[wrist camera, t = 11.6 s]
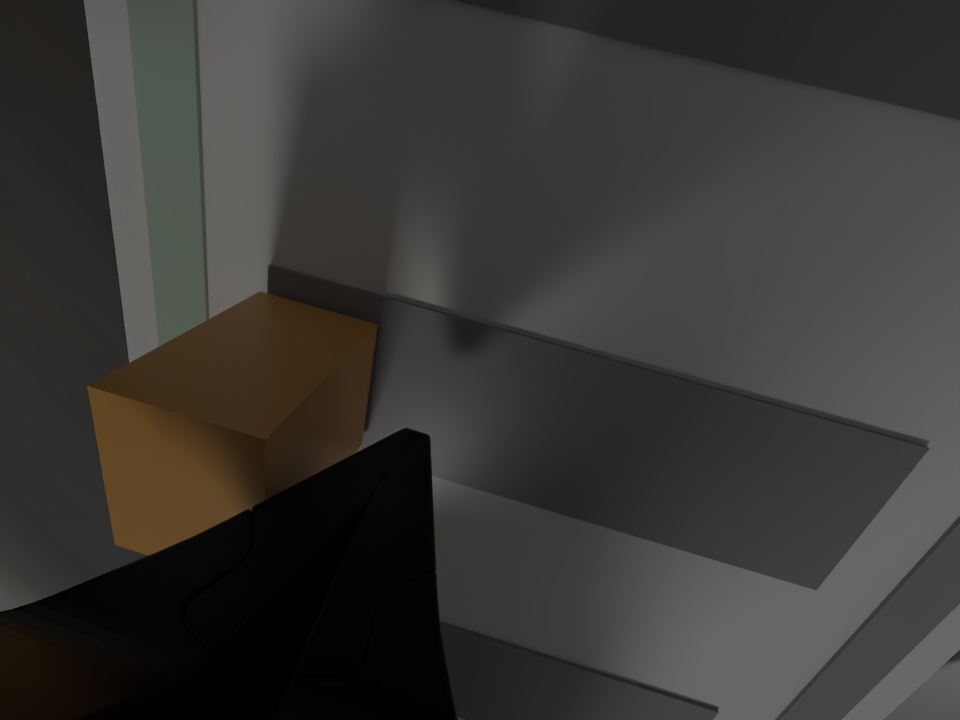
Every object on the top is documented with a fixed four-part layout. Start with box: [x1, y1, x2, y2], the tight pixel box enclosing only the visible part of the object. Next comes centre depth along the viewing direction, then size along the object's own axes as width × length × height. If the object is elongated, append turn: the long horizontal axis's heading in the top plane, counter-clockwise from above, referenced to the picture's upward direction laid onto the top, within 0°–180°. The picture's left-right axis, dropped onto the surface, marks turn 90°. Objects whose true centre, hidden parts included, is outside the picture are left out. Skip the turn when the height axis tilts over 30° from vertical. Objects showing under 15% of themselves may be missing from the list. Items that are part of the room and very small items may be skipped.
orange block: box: [87, 291, 378, 555], centre depth 9 cm, size 3×2×4 cm
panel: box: [84, 0, 960, 720], centre depth 10 cm, size 24×20×6 cm
